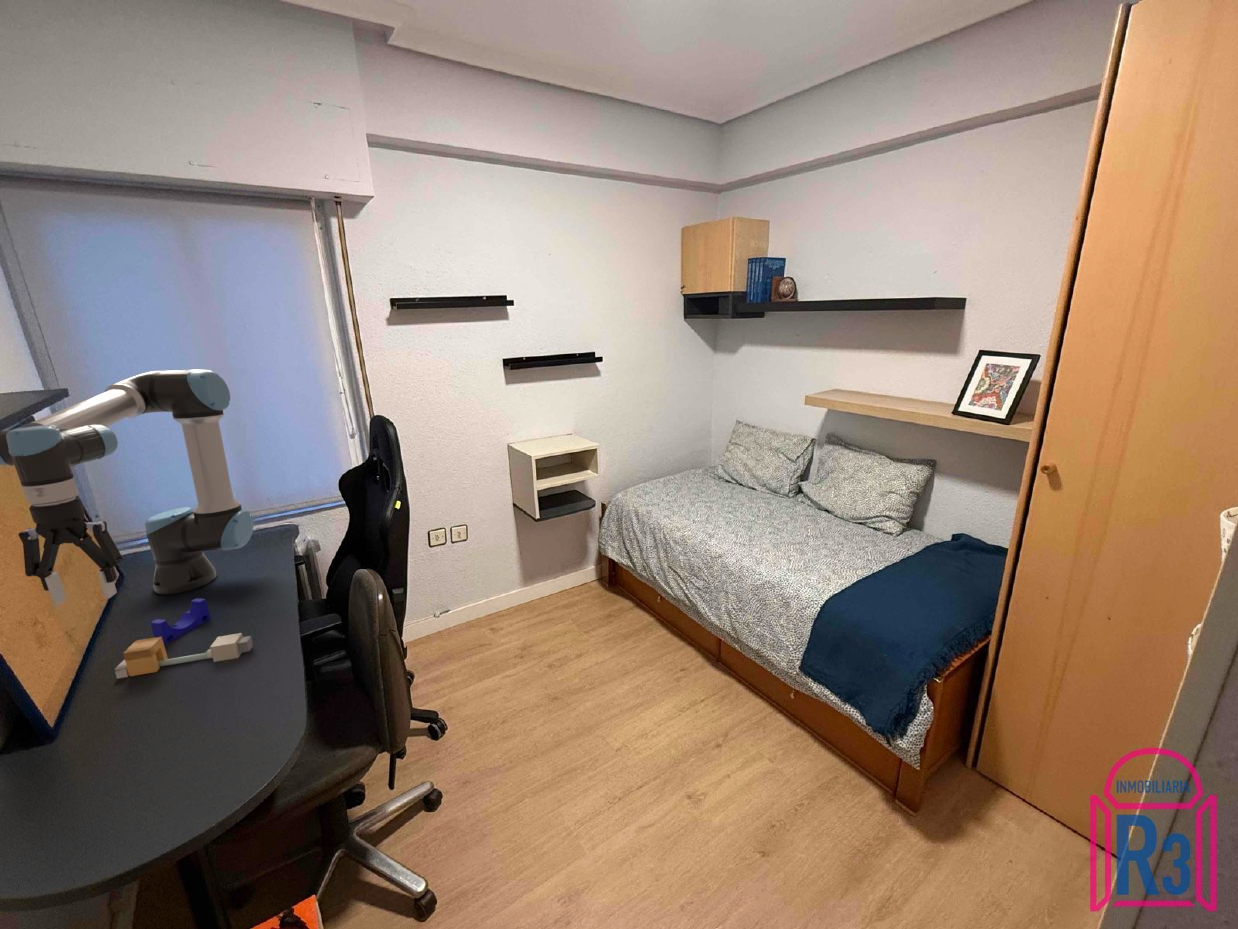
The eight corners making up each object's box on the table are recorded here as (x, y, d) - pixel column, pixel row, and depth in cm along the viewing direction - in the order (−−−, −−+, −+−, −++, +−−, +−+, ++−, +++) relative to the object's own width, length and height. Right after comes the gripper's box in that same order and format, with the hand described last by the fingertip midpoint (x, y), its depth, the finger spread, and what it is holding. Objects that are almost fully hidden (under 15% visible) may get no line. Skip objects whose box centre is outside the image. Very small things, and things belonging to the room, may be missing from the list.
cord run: (116, 678, 119) (111, 663, 118) (128, 666, 123) (123, 651, 122) (248, 656, 126) (244, 641, 125) (255, 645, 130) (251, 631, 129)
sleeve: (130, 676, 119) (122, 653, 118) (142, 662, 124) (135, 640, 123) (156, 671, 121) (149, 649, 119) (167, 658, 126) (161, 636, 124)
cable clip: (196, 617, 144) (191, 597, 143) (210, 618, 143) (205, 599, 142) (151, 643, 133) (145, 621, 131) (166, 644, 132) (160, 623, 130)
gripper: (-27, 513, 103) (11, 616, 109) (105, 500, 109) (134, 599, 115) (4, 501, 110) (38, 598, 116) (126, 489, 116) (153, 583, 122)
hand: (86, 598), depth 116 cm, fingers open, 8 cm apart
